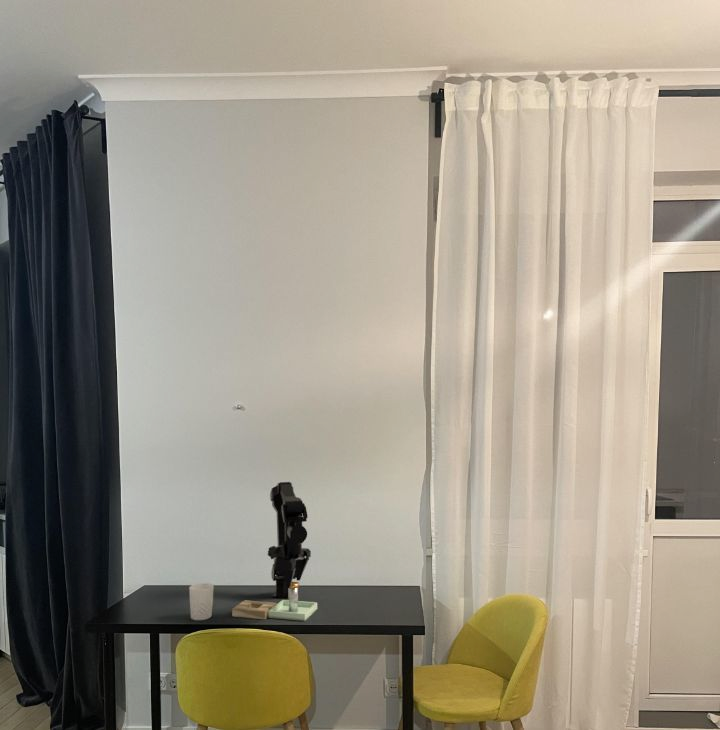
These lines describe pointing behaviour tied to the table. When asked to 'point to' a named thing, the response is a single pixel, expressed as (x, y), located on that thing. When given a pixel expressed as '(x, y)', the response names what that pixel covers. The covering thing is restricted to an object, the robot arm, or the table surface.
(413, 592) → the table surface
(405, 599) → the table surface
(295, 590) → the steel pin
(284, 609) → the tray
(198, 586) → the white cup
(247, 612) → the block
